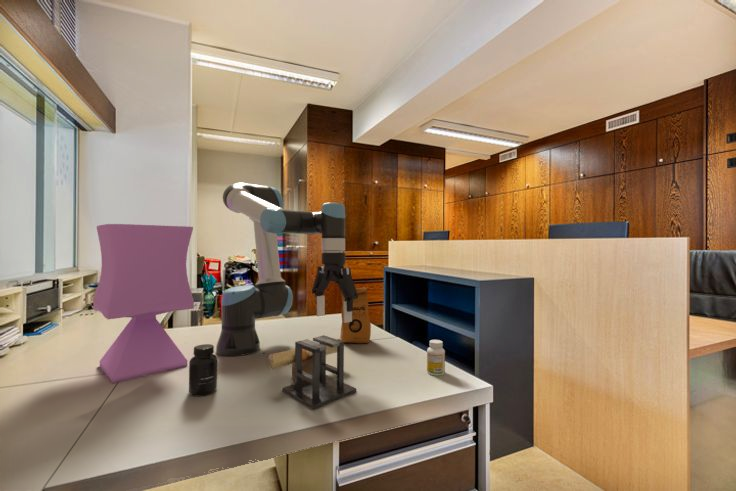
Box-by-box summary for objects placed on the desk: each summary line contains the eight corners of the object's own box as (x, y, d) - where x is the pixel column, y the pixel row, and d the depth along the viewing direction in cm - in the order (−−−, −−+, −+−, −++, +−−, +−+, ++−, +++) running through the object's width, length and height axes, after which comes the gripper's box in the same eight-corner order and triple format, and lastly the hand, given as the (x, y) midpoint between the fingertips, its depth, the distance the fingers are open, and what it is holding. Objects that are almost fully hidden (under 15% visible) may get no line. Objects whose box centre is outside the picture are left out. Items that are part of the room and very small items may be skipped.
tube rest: (290, 376, 100) (290, 356, 100) (312, 370, 106) (312, 350, 106) (302, 383, 96) (303, 362, 96) (325, 375, 101) (325, 355, 101)
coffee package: (370, 345, 132) (370, 289, 132) (338, 344, 133) (339, 288, 133) (371, 338, 142) (371, 286, 142) (341, 337, 143) (342, 285, 143)
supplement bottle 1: (205, 398, 86) (206, 351, 86) (182, 395, 88) (182, 349, 88) (222, 387, 93) (222, 343, 93) (200, 384, 94) (200, 342, 94)
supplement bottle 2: (433, 368, 108) (433, 337, 108) (448, 372, 104) (448, 341, 104) (423, 372, 104) (423, 341, 104) (438, 377, 101) (438, 345, 101)
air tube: (275, 371, 91) (276, 356, 91) (267, 367, 94) (268, 352, 94) (343, 353, 108) (343, 340, 108) (334, 349, 111) (335, 337, 111)
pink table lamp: (193, 365, 109) (194, 226, 109) (107, 386, 93) (108, 223, 93) (170, 350, 125) (171, 228, 125) (93, 366, 108) (93, 226, 108)
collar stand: (282, 391, 90) (282, 341, 90) (324, 377, 100) (324, 332, 100) (313, 410, 80) (313, 353, 80) (356, 392, 90) (356, 342, 90)
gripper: (369, 252, 101) (369, 322, 101) (319, 251, 119) (319, 311, 119) (350, 252, 96) (351, 327, 96) (301, 251, 114) (301, 314, 114)
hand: (333, 318), depth 107 cm, fingers open, 13 cm apart
